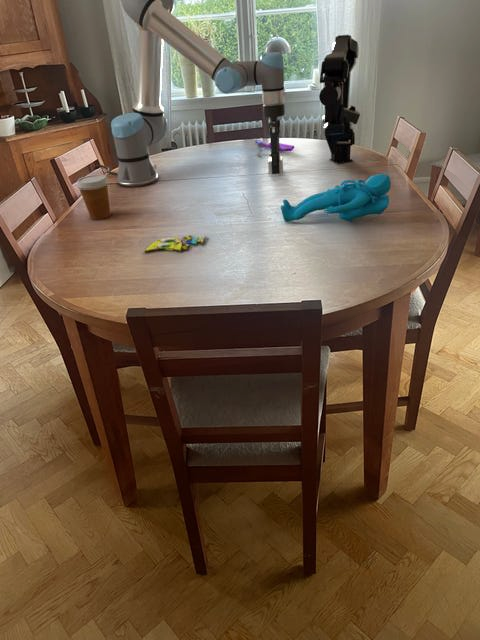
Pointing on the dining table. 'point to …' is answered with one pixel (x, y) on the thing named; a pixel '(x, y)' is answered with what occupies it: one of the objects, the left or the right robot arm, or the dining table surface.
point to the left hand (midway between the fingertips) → (276, 171)
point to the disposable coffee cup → (95, 195)
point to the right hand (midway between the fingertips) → (332, 150)
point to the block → (279, 165)
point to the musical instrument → (283, 147)
